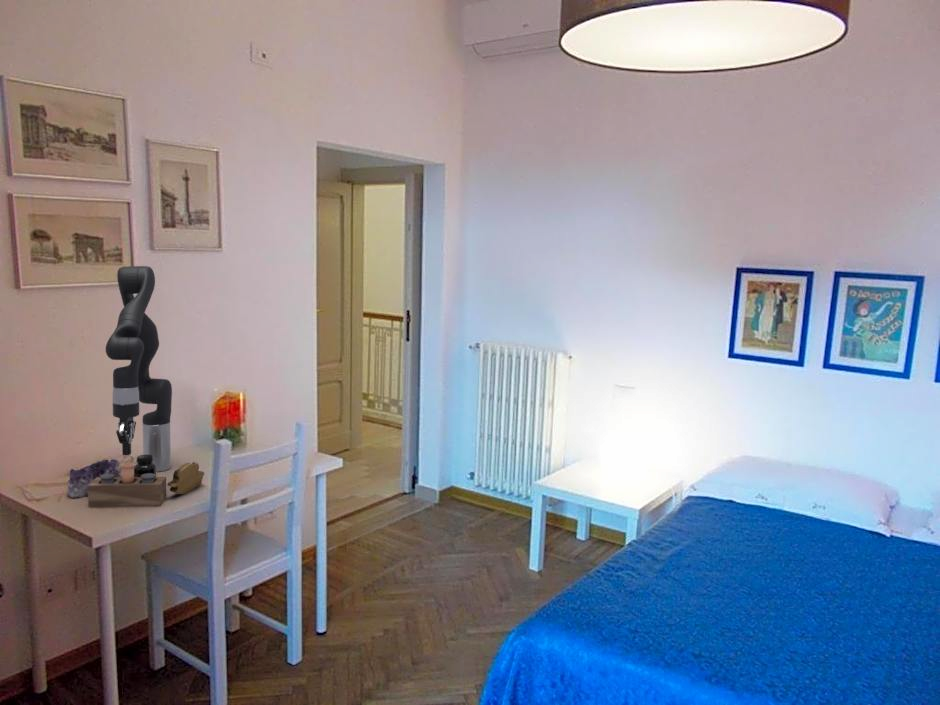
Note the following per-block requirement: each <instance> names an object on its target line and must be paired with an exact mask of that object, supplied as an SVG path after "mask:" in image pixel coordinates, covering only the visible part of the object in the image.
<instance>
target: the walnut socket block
mask: <svg viewBox="0 0 940 705" xmlns="http://www.w3.org/2000/svg"><path fill="white" fill-rule="evenodd" d="M166 499H167V477H166V476H156V477H155V478H154V483H142V478H141V477H134V483H126V484H122V477H115V478H114V483H113V484H101V479H100V477H96V478H95V479H94V480H93V481H92V482H91V483H90V484H89V485H88V499H87V500H88V508H123V507H124V506H125V507H124V508H128V507H127V506H129V507H131V506H132V508H133V507H134V508H135V507H138V506H139V507H161V506H162V504H163V503H164V502H165V500H166Z"/></svg>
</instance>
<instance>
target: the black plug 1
mask: <svg viewBox="0 0 940 705" xmlns="http://www.w3.org/2000/svg"><path fill="white" fill-rule="evenodd" d="M114 478H115V474H103V475H101V476H100V479H101V484H113V483H114Z"/></svg>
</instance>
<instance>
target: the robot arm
mask: <svg viewBox="0 0 940 705" xmlns="http://www.w3.org/2000/svg"><path fill="white" fill-rule="evenodd" d="M116 276H117V284H118V289H119V293H120V298H121V300H122V301H121V302H122V304H123V308H122V309H121V311H120V312H119V315H118V319H117V325H116V328H115V329H114V331H113V333H111V335H110V337H109V338H108V340H107V343H106V344H105V354H106V356H107V358H109V359H110V360H113V361H130V363H129V364H128V365H126V366H122V367H117V368H115V369H114V370H113V371H112V372H113V373H112V389H113V390H112V416H113V417H115V418H118V419H119V421H118V422H117V428H118V429H117V430H116V432H115V433H116V436H117V439H118V442H119V444H121V446H122V448H121V449H122V450H121V451H122V452H121V454H122V455H123V456H130V455H131V454H132V442H133V439H134V438H135V431H136V426H137V421H135V420H134V417H138V416H139V415H140V403H141V404H148V405H156V409H155V410H153V411H150V412H147V413H145V414H143V416H142V455H152V456H153V462H152V463H154V464H155V465H156V473H158V472H163V471H167V470H170V469H171V467H172V466H171V463H172V462H171V460H172V458H171V457H172V456H171V454H172V453H171V452H172V451H171V450H172V448H171V415H172V400H173V398H172V397H173V388H172V383H171V381H170V380H169V379H164V378H153V377H151V376H150V366H151V362H152V361H153V359H154V358H155V356H156V354H157V351H158V350H159V347H160V341H159V340H160V339H159V334H158V328H157V325H156V324H155V323H154V321H153V320H152V319H151V318H150V317H149V316H148V314H146V313H145V312H146V310H147V308H148V305H149V303H150V301H151V298H152V295H153V294H154V290H155V286H156V285H155V284H156V277H155V273H154V269H153V268H152V267H151V266H149V265H147V266H146V265H139V266H137V265H136V266H135V265H133V266H121V267H119V268H118V270H117V274H116ZM135 294H136V295H135Z"/></svg>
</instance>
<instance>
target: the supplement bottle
mask: <svg viewBox="0 0 940 705" xmlns="http://www.w3.org/2000/svg"><path fill="white" fill-rule="evenodd" d="M152 462H153V456H152V455H143V454H140V455H137V456H136V463H135V466H134V477H141V475H142V474H146V473H153V474H155V477H157V472H156V465H155V464H154V463H152Z"/></svg>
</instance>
